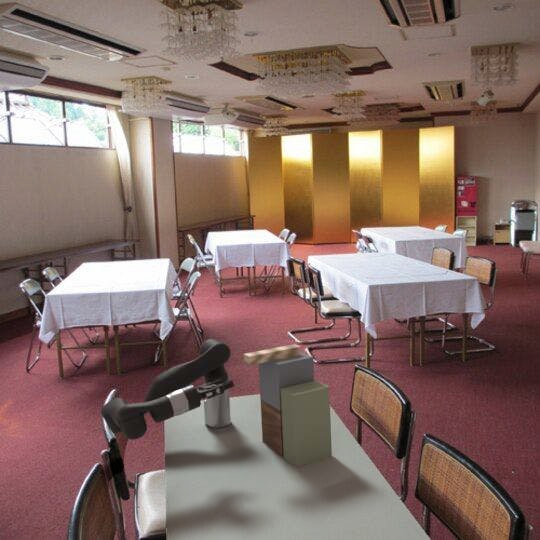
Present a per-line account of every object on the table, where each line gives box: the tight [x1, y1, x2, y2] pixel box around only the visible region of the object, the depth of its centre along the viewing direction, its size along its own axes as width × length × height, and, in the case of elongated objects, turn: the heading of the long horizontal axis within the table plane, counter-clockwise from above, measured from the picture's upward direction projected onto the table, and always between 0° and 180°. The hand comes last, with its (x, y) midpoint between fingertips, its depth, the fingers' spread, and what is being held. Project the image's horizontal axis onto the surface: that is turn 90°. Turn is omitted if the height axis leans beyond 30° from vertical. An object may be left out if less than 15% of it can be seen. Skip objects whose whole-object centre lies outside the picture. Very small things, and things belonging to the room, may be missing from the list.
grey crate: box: [258, 351, 315, 411], centre depth 199 cm, size 14×14×16 cm
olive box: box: [281, 379, 333, 467], centre depth 190 cm, size 14×8×24 cm, turn 119°
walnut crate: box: [260, 399, 284, 457], centre depth 201 cm, size 14×14×16 cm
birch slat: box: [243, 343, 302, 366], centre depth 195 cm, size 20×4×3 cm, turn 119°
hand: (227, 382), depth 187 cm, fingers open, 8 cm apart
